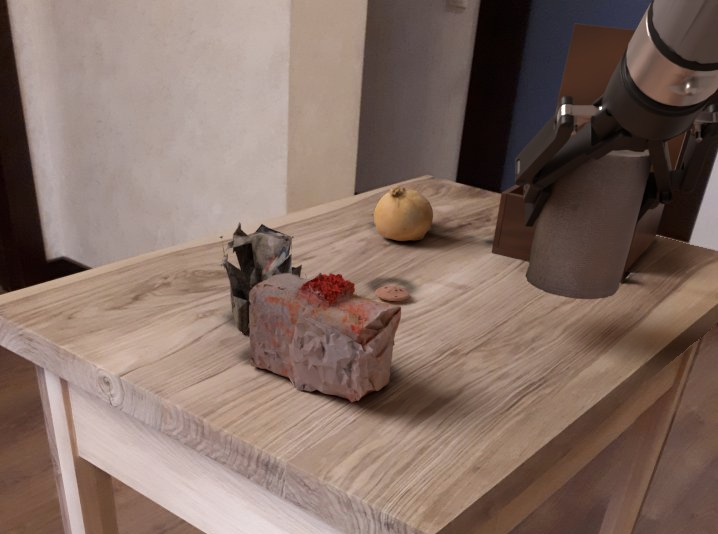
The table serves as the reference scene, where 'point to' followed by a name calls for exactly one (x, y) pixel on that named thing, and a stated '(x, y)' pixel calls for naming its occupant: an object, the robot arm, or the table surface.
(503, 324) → the table surface
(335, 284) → the food item
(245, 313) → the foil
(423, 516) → the table surface
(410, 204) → the onion
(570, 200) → the pillar candle
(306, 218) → the table surface
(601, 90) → the chest lid
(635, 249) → the chest
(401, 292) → the cookie
